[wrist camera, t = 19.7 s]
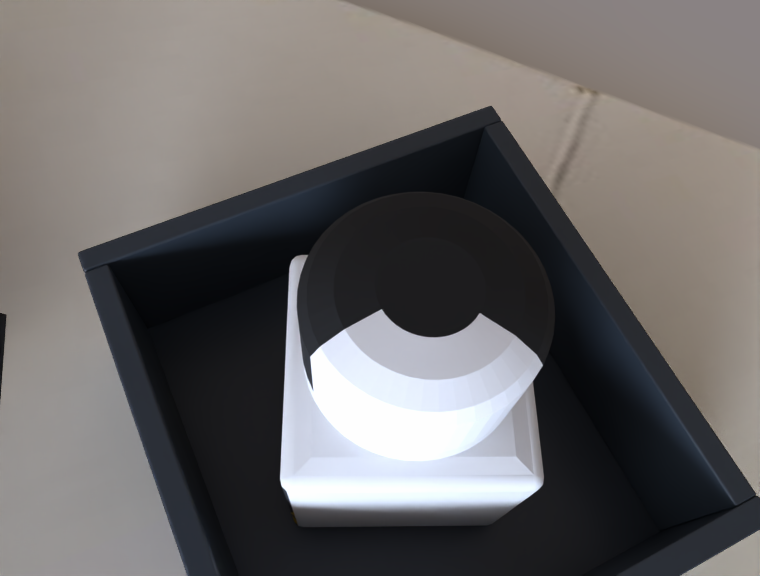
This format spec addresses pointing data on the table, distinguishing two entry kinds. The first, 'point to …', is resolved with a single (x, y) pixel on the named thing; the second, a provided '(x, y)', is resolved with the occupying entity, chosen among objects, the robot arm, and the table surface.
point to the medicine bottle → (414, 367)
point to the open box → (267, 373)
